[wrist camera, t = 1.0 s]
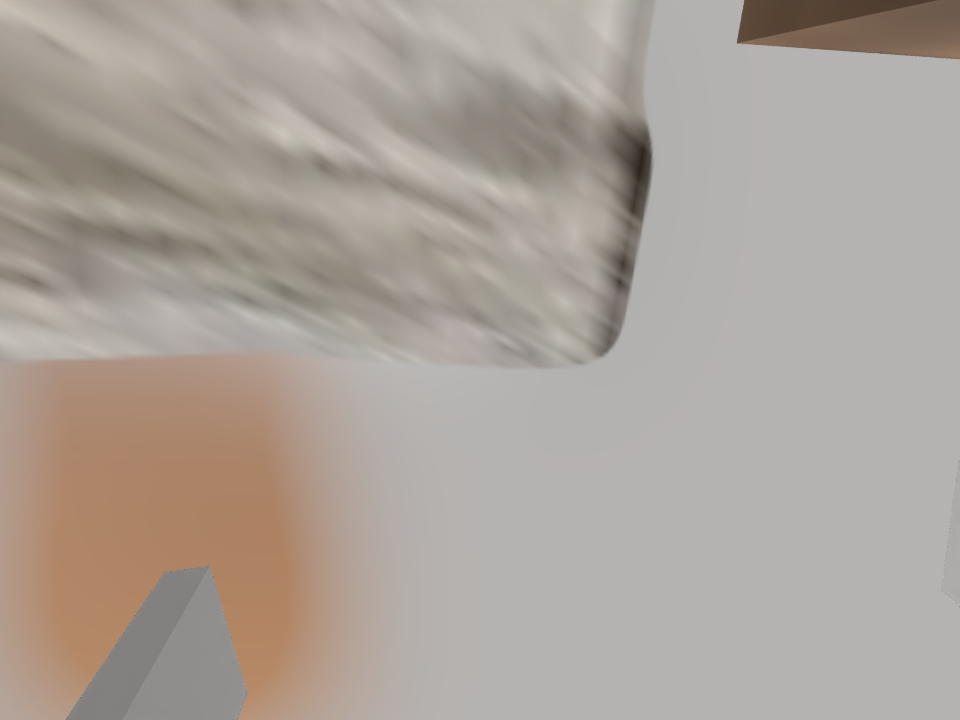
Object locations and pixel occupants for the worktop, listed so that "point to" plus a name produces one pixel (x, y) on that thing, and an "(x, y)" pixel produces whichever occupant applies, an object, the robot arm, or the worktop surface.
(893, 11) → the brown block
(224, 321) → the worktop surface
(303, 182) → the worktop surface
